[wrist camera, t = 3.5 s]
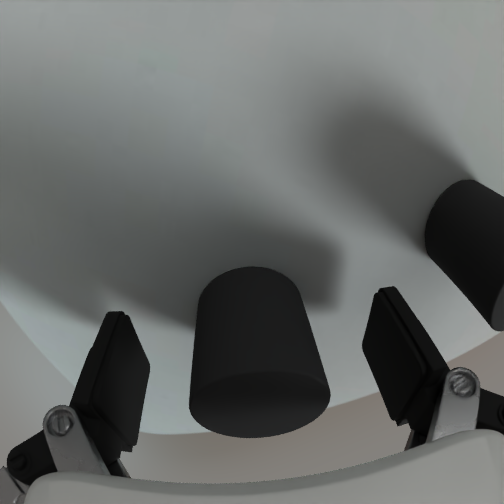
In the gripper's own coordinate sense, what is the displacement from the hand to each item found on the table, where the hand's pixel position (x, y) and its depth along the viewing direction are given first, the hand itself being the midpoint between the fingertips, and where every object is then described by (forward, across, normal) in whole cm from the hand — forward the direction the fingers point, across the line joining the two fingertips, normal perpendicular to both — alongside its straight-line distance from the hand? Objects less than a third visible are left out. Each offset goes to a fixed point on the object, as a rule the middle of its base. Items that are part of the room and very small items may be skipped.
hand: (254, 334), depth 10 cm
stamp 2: (+1, -9, -3) cm, 9 cm away
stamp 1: (+1, 0, 0) cm, 1 cm away
